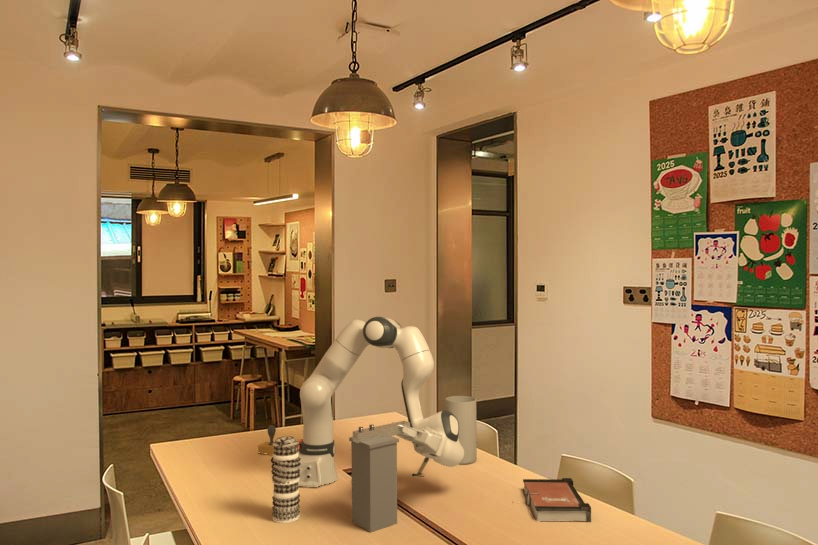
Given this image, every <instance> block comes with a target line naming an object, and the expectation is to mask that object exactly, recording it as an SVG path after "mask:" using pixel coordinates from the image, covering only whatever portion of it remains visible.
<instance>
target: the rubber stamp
mask: <svg viewBox="0 0 818 545" xmlns="http://www.w3.org/2000/svg"><path fill="white" fill-rule="evenodd" d="M266 431H267V435H268V437H269V441H264V442H263V443H260V444H259V445H258V446H257V453H258V452H260V453H267V454H273V453H274V445H273V443H274V442H275V441H274V437H275V435H276V433H277V432H276V431H277V429H276V426H275V425H274V424H270V425H269V426H268V427H267V429H266Z"/></svg>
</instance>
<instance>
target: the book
mask: <svg viewBox="0 0 818 545" xmlns="http://www.w3.org/2000/svg"><path fill="white" fill-rule="evenodd" d="M522 481H523V487H524V488H523V490H522V491H523V494H524V497H525V498H526V505H527V506H528V507H529V509H530V511H531V510H532V511H531V512H532V515H533V517H535V518H534V520H535V522H536V521H540V522H539V523H543V522H544V523H592V507H591V505H590V504H589V503H588V502H585V501H584V500H583V498H582V497H581V495H580V494H579V492H578V491H577V489H576V488H575V486H574V480H573V478H572V477H562V479H561V478H560V479H556V478H555V479H550V478H548V479H546V478H545V479H544V478H543V479H541V478H540V479H539V478H537V479H536V478H534V479H530V478H527V479H526V478H525V479H524V478H523V479H522Z"/></svg>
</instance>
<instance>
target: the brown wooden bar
mask: <svg viewBox="0 0 818 545" xmlns="http://www.w3.org/2000/svg"><path fill="white" fill-rule="evenodd" d="M394 422H395V421H394ZM401 426H405V427H407V428H410V422H408V420H407V421H406V420H401V421H396V422H395V423H392V422H391V423H387V424H382V425H378V426H375V425H374V424H369V425H368V428H366V427H365V428H364V426H359V427H358V429H357V430H353V431H352V437H353V442H356V443H363V442H367V441H372V440H376V439H381V438H385V437H389V436H392V437H394V436H396V435H398V434H403V432H402V431H400V428H401Z"/></svg>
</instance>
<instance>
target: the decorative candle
mask: <svg viewBox="0 0 818 545" xmlns="http://www.w3.org/2000/svg"><path fill="white" fill-rule="evenodd" d="M273 442H274V443H273V445H274V453H273V455H272V456H271V459H270V463H271V466H270V467H271V475H272V476H271V479H272V483H273V493H272V494H273V496H271V498H272V502H271V503H272V505H273V506H272V512H271V513H272V514H271V515H272V521H273V522H274V523H277V524H289V523H293V522H296V521H298V520H299V519H300V517H301V515H300V512H301V511H300V510H301V509H300V508H301V506H300V502H301V500H300V498H301V494H300V493H299V492H300V490H299V489H300V487H298V481H299V476H300V474H299V473H298V472H300V469H299V468H298V466H300V465H301V463H300V462H298V461H300V459H301V458H299V457H298V443H299V440H297V439H296V438H295V437H294V436H291V435H290V436H289V435H285V436H279V437H277V438H276V440H275V441H273Z"/></svg>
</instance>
